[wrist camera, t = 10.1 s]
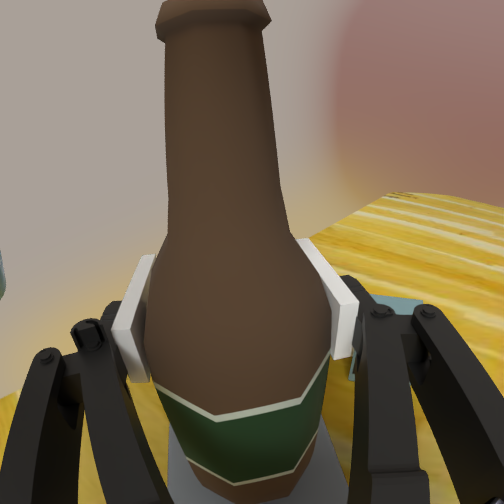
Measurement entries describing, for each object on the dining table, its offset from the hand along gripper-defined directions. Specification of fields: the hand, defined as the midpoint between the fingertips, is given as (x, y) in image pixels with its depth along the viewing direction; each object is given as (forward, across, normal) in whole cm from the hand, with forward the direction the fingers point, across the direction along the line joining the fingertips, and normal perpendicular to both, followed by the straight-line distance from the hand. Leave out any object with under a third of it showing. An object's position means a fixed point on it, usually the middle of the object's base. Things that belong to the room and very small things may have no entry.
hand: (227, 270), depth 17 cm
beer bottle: (-5, 0, -12) cm, 13 cm away
